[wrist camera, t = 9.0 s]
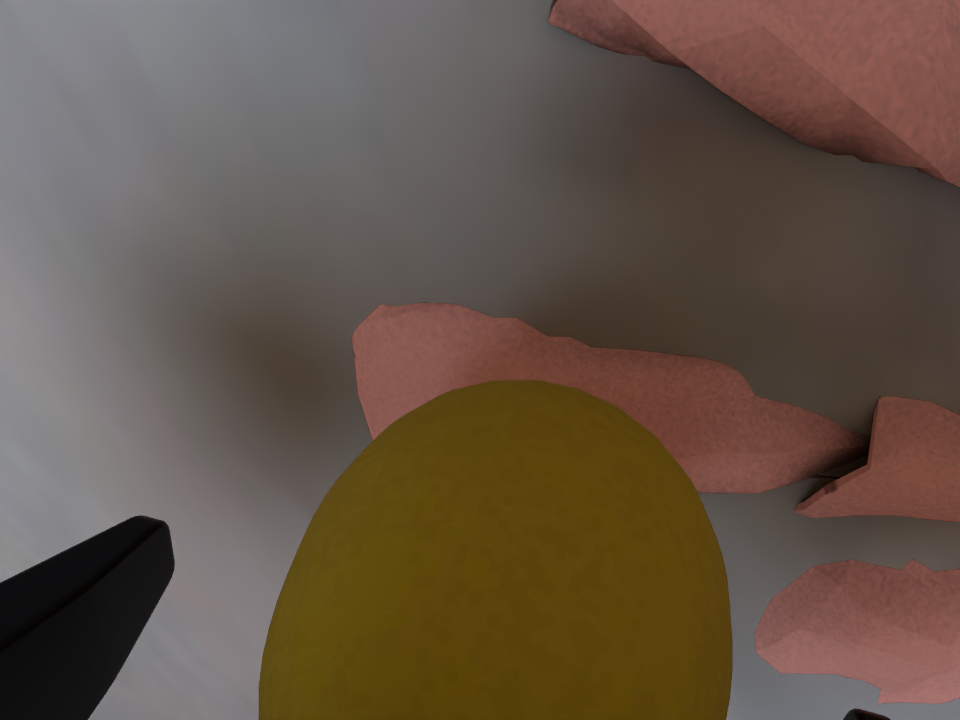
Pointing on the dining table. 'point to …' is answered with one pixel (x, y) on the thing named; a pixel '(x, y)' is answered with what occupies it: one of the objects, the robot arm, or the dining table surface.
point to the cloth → (719, 388)
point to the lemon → (505, 573)
